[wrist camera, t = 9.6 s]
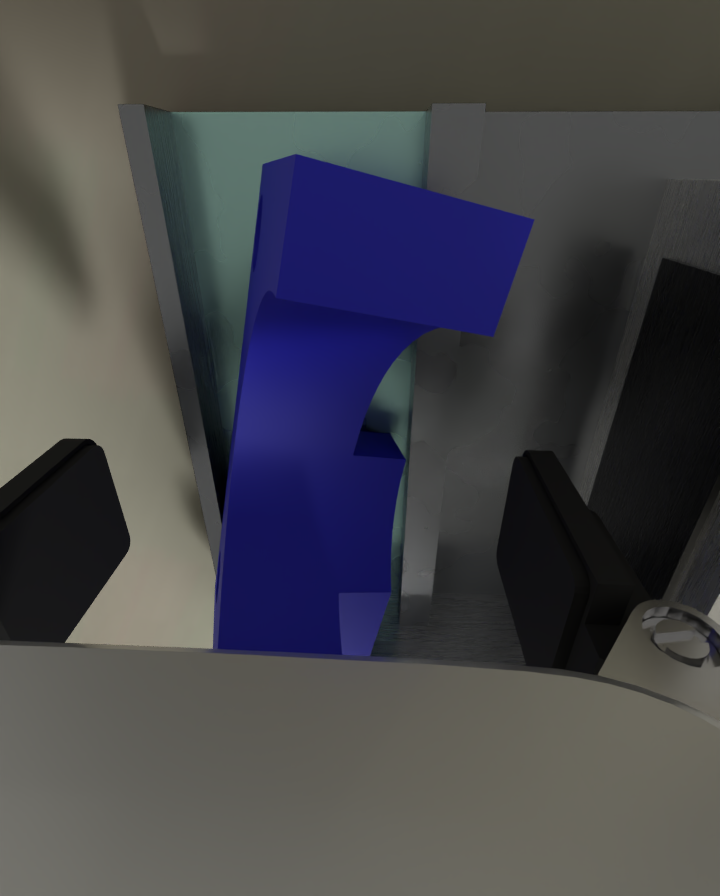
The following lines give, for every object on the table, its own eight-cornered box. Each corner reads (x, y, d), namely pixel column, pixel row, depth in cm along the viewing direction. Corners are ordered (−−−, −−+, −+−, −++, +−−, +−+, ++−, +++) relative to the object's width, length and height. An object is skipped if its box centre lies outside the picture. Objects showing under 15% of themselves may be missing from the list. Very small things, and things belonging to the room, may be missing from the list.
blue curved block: (348, 584, 17) (399, 762, 12) (215, 585, 15) (208, 787, 10) (451, 213, 11) (628, 244, 6) (262, 164, 10) (296, 154, 5)
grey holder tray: (865, 115, 11) (1487, 44, 5) (648, 606, 19) (774, 813, 13) (167, 117, 11) (-79, 55, 5) (247, 595, 19) (187, 788, 13)
